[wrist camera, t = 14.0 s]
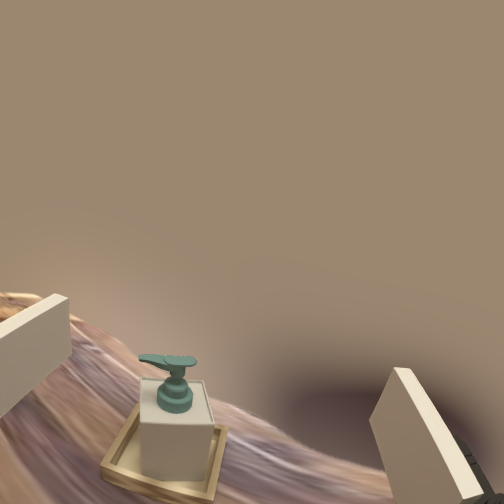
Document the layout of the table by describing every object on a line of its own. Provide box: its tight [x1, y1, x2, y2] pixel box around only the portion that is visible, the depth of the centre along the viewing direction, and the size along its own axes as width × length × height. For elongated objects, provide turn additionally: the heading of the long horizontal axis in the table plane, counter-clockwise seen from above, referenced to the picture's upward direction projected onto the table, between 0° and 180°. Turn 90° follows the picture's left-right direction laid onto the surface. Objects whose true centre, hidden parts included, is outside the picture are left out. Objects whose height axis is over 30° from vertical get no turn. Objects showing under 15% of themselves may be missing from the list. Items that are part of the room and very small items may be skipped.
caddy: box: [100, 402, 229, 504], centre depth 36 cm, size 15×15×4 cm
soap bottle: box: [139, 354, 215, 481], centre depth 35 cm, size 9×9×19 cm
